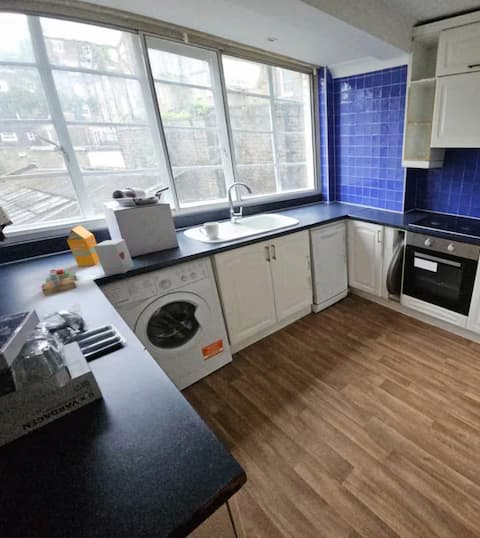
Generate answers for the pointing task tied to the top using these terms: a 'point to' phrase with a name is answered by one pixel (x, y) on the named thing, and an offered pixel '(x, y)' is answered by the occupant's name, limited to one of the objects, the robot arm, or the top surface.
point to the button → (60, 272)
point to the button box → (63, 276)
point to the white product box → (114, 256)
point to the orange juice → (83, 246)
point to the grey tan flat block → (55, 277)
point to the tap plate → (58, 286)
